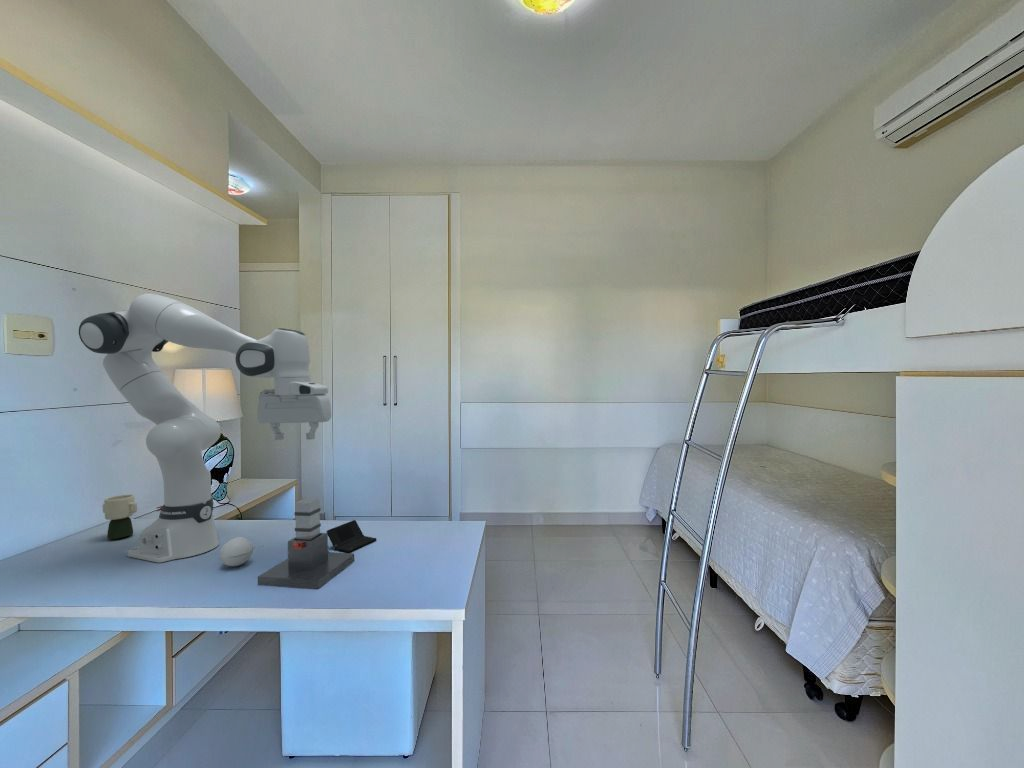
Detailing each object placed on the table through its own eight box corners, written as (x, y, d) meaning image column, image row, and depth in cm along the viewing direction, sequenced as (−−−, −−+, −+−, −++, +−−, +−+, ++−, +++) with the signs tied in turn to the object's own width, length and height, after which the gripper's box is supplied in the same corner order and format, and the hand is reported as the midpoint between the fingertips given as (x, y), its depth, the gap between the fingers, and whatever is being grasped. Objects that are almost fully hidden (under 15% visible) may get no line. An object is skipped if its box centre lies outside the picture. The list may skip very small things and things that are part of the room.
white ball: (217, 573, 111) (217, 545, 111) (223, 562, 117) (222, 535, 117) (262, 566, 115) (262, 538, 115) (265, 556, 122) (264, 529, 122)
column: (295, 566, 109) (294, 502, 109) (306, 559, 113) (305, 498, 113) (311, 567, 108) (309, 503, 108) (321, 560, 112) (320, 498, 112)
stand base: (257, 584, 104) (256, 547, 104) (301, 557, 120) (300, 525, 120) (318, 589, 101) (317, 550, 101) (354, 560, 117) (353, 527, 117)
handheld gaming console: (355, 548, 122) (339, 518, 125) (337, 563, 123) (322, 532, 126) (379, 540, 133) (364, 512, 136) (363, 553, 134) (348, 525, 137)
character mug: (146, 533, 142) (145, 494, 142) (126, 541, 135) (125, 500, 135) (114, 533, 142) (113, 494, 142) (92, 541, 135) (91, 500, 135)
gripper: (250, 390, 116) (252, 441, 116) (319, 387, 113) (321, 440, 113) (267, 389, 122) (269, 438, 122) (333, 387, 119) (335, 437, 119)
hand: (294, 439), depth 117 cm, fingers open, 8 cm apart
